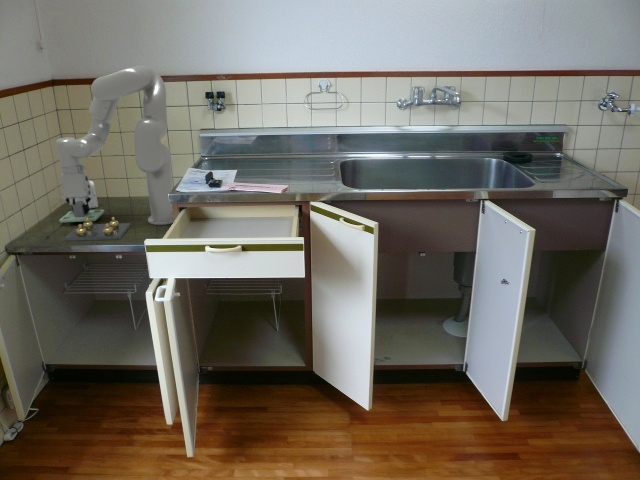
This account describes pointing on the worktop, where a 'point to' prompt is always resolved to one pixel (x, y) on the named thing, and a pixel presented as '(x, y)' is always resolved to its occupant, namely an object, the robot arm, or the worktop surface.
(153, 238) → the worktop surface
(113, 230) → the plate
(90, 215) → the board
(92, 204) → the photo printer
